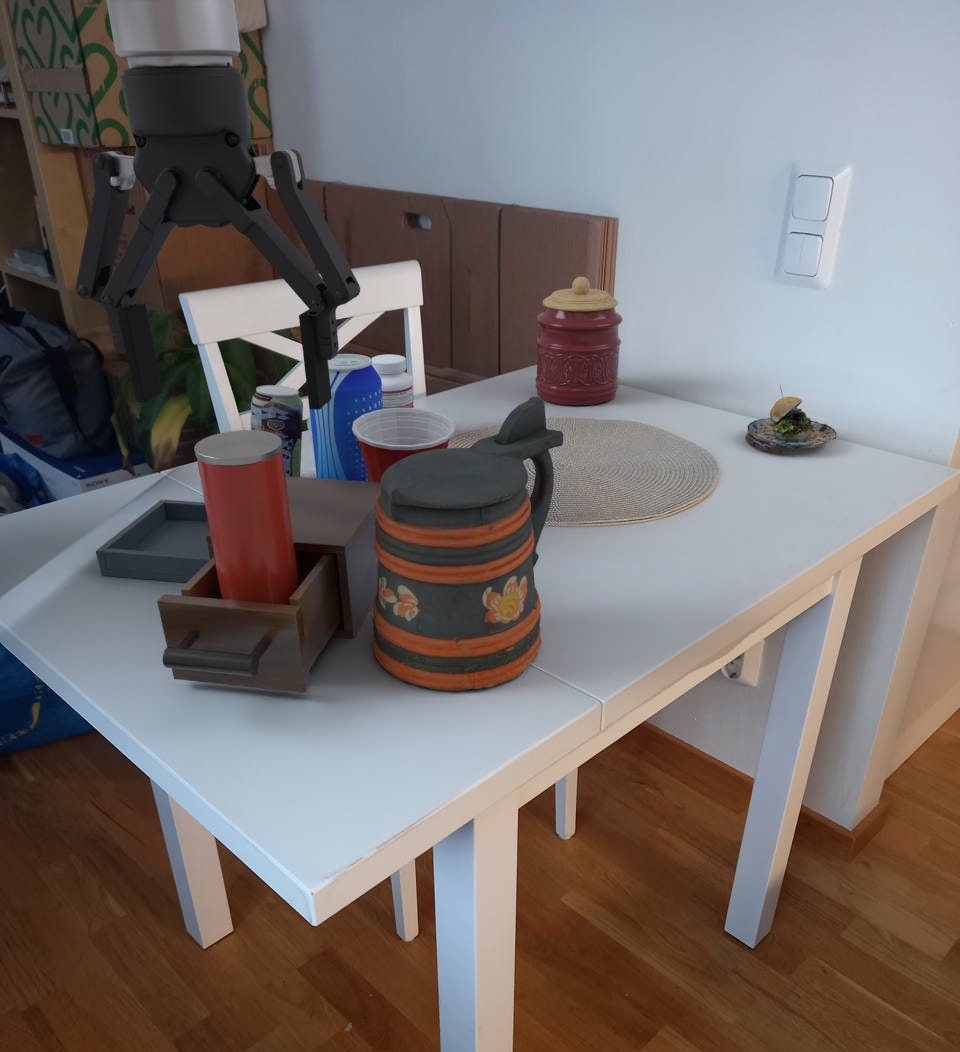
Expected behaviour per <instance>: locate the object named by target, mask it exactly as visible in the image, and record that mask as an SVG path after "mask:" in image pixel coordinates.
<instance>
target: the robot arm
mask: <svg viewBox="0 0 960 1052" xmlns="http://www.w3.org/2000/svg"><path fill="white" fill-rule="evenodd" d="M105 1H106V7H107V11H108V18H109V23H110V29H111V34H112V39H113V40H112V41H113V47H114V52H115V54H116V55H117V56H118V57H120V58H121V59H126V60H127V64H128V69H122V74H123V75H120V76H119V77H120V82H121V88H122V93H123V98H124V103H125V109H126V114H127V120H128V125H129V129H130V131H131V134H132V136H133V138H134V142H135V153H134V156H132V155H126V154H125V153H123V151H121V150H112V151H102V152H95V153H94V154H93V155H92V156H91V168H92V169H91V171H92V177H93V186H94V192H93V197H92V202H91V206H90V212H89V217H88V222H87V228H86V232H85V236H84V243H83V246H82V247H83V248H82V252H81V258H80V262H79V267H78V273H77V278H76V283H75V292H76V294H77V296H78V297H79V298H80V299H83V300H92V301H94V302H97V303H99V304H101V305H102V306H103V307H104V308H105V310H106V312H107V317H108V321H109V326H110V331H111V335H112V338H113V339H112V340H113V344H114V348H115V349H116V351H117V353H118V354H125V356H126V361H127V366H128V370H129V376H130V380H131V386H132V389H133V394H134V399H135V402H136V403H147V402H149V401H150V400H152V399H154V398H155V397H157V396H159V395H161V394H162V393H163V386H162V380H161V376H160V371H159V366H158V361H157V354H156V351H155V350H156V349H155V346H154V345H155V344H154V341H153V340H154V339H153V334H152V330H151V329H152V328H151V325H150V320H149V319H150V318H149V315H148V309H147V305H146V303H134V304H132V303H133V302H134V301H137V300H138V299H139V297H138V296H137V294H138V292H139V290H140V288H141V286H142V284H143V283H144V280H145V279H146V277H147V275H148V273H149V271H150V270H151V268H152V266H153V264H154V263H155V260H156V259H157V257H158V255H159V253H160V251H161V250H162V248H163V246H164V244H165V243H166V240H167V239H168V237H169V235H170V233H171V232H172V230H174V228H176V226H178V228H192V227H196V226H199V225H201V226H205V227H208V228H217V229H218V228H225V227H229V226H233V227H234V228H235V229H236V230H237V232H238V233H240V234H241V235H243V236H245V237H246V238H247V239H248V240H249V241H250V242H251V244H252V245H253V246H254V247H255V248H256V249H257V251H259V253H260V254H261V255H262V256H263V257H264V259H265V260H266V261H267V262H268V263H269V264H270V266H271V267H272V268H273V269H274V271H276V272H277V274H278V275H279V276H280V277H281V278H282V280H283V281H284V282H285V283H286V284H287V285H288V286H289V287H290V288H291V290H292V292H294V293H295V295H297V296H298V298H299V299H300V300H301V301H302V303H303V304H304V305H305V306H306V308H308V309H306V310H305V311H304V312H302V313H300V314H298V320H299V329H300V339H301V348H302V356H303V365H304V373H305V383H306V391H307V399H308V400H307V401H309V402H308V409H315V410H320V409H321V408H322V407H323V406H324V405H325V404H326V403H328V402H329V401H330V400H331V399H332V397H331V387H330V377H329V367H328V360H331V359H332V358H334V357H335V356H336V355H337V354H339V350H340V349H339V347H340V345H339V336H338V324H337V323H338V322H337V315H336V314H337V309H338V307H341V306H342V305H346V304H348V303H349V302H351V301H352V300H354V299H356V298H357V297H358V296H359V295H360V293H361V286H360V284H359V281H358V280H357V278H356V276H355V273H354V272H353V271H352V268H351V267H350V265H349V262H348V261H347V259H346V257H345V255H344V253H343V252H342V250H341V247H340V246H339V244H338V242H337V239H335V236H334V234H333V233H332V230H331V229H330V227H329V225H328V223H327V221H326V219H325V217H324V216H323V214H322V212H321V210H320V208H319V206H318V204H317V203H316V201H315V199H314V197H313V194H312V192H311V191H310V189H309V187H308V184H307V180H306V174H305V170H304V165H303V160H302V156H301V154H300V152H299V151H298V150H296V149H295V148H287V149H281V150H276V151H273V152H272V154H266V155H259V156H258V154H257V152H256V151H255V148H254V146H253V143H252V135H251V119H250V113H249V112H250V111H249V104H248V96H247V89H246V81H245V74H244V73H241V69H240V68H239V67H234V64H233V58H235V57H238V56H239V55H240V53H241V44H240V43H241V42H240V35H239V28H238V20H237V13H236V6H235V0H105ZM261 177H263V178H264V179H265V180H266V182H267V185H268V186H269V187H270V189H272V190H274V191H276V193H277V195H278V199H279V201H280V203H281V205H282V207H283V209H284V211H285V212H286V214H287V216H288V218H289V220H290V222H291V224H292V225H293V227H294V230H295V231H296V233H297V235H298V237H299V238H300V240H301V242H302V244H303V246H304V247H305V249H306V251H307V253H308V255H309V256H310V259H311V260H312V262H313V264H314V266H315V268H316V269H317V270H316V269H315V268H314V267H313V266H312V265H311V263H310V262H309V261H308V260H307V259H306V258H305V256H304V255H303V254H302V252H301V251H300V250H298V248H297V247H296V246H295V244H294V243H293V242H292V241H291V240H290V238H289V237H288V236H287V235H286V234H285V233H284V231H283V230H282V229H281V228H280V227H279V226H278V225H277V224H276V222H275V221H274V220H273V218H272V214H271V213H270V211H269V210H268V209H267V207H266V206H265V205H264V204H263V203H262V202H261V200H260V199H259V198H258V197H257V195H255V193H254V191H255V189H256V187H257V185H258V183H259V181H260V179H261ZM136 179H137V180H138V181H139V183H140V185H142V187H143V188H144V189H145V191H146V192H147V193H148V195H149V197H148V198H147V201H146V202H145V205H144V206H143V208H142V210H141V213H140V214H139V216H138V217H137V218H138V224H137V226H136V228H135V230H134V232H133V234H132V235H131V238H130V239H129V242H128V243H127V245H126V247H125V249H124V251H123V252H122V255H121V257H120V258H119V261H118V262H117V265H116V266H115V263H116V260H117V256H118V250H119V245H120V241H121V237H122V232H123V227H124V223H125V219H126V214H127V210H128V209H127V208H128V205H129V200H130V189H132V188H134V186H135V182H136Z"/></svg>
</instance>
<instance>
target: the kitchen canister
mask: <svg viewBox="0 0 960 1052" xmlns="http://www.w3.org/2000/svg"><path fill="white" fill-rule="evenodd" d="M542 305H543V306H544V310H543V311H542V312H540V313H539V314H538V315H537V316H536V321H537V323H538V324H539V335H538V336H537V338H536V345H537V349H536V351H537V352H536V354H537V355H536V377H535V388H536V395H537V397H539V398H542V399H543V400H544V401H545V402H548V403H552V404H557V405H564V406H593V405H600V404H603V403H607V402H609V401H612V400H613V399H615V397H616V396H617V391H618V389H619V382H620V381H619V363H620V362H619V361H620V346H621V343H622V340H621V338H620V337H619V326H620V325H621V324H622V322H623V321H624V320H623V319H624V318H623V316H622V315H621V314H620V313H619V312H617V310H616V307H617V306H618V305H619V301H618V299H617V298H615V297H613V296H612V295H611V294H610V293H609V292H608V291H606V290H602V289H597V288H591V284H590V281H589V279H588V278H587V277H586V276H578V277H576V278H574V280H573V282H572V285H571V288H563V289H557V290H555V291H553V292H552V293H551V294H550V295H549V296H547V297H545V298H544V299H543V300H542Z"/></svg>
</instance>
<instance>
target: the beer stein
mask: <svg viewBox="0 0 960 1052" xmlns="http://www.w3.org/2000/svg"><path fill="white" fill-rule="evenodd" d="M545 406H546V405H545V400H543V399H542V398H540V397H539V396H531V397H529V398H528V399H527V401H524V402H522V403H520V404H518V405H517V406H516V407H515V408H514V409H512V410H511V411H510V413H509V414H508V415H507V417H506V418H505V420H504V421H503V423H502V425H501V427H500V430H499V431H498V433H496V434H493V435H490V436H487V437H483V438H480V439H478V440H477V441H475V442H474V443H473V444H471V446H469V447H447V448H445V449H435V450H429V451H424V452H420V453H417V454H414V455H411V456H408V457H406V458H404V459H402V460H400V461H398V462H396V463H395V464H393V465H391V466H390V467H389V468H388V469H387V470H386V471H385V472H384V473H383V475H382V477H381V481H380V482H381V493H380V495H379V496H378V498H377V500H376V521H375V525H376V528H375V537H374V540H375V544H374V550H375V553H376V555H377V558H378V576H377V594H376V595H375V598H374V602H373V607H372V624H373V625H372V627H373V628H372V629H373V632H372V633H373V635H372V650H373V653H374V656H375V658H376V660H377V661H378V662H379V664H380V665H381V666H382V667H383V668H384V670H385V671H386V672H387V673H389V674H391V675H392V676H393V677H394V678H396V679H398V680H399V681H401V682H404V683H406V684H410V685H413V686H418V687H422V688H426V689H429V690H436V691H437V690H438V691H445V692H460V691H461V692H462V691H468V690H477V689H478V690H479V689H488V688H492V687H495V686H500V685H504V684H505V683H507V682H510V681H513V680H515V679H516V678H518V677H520V676H521V674H523V672H524V671H525V670H526V669H527V668H529V666H530V664H532V663H533V662H534V660H535V659H536V658H537V656H538V654H539V652H540V649H541V647H542V643H543V641H542V634H541V624H540V623H541V609H542V603H541V599H540V595H539V592H538V590H537V588H536V585H535V582H536V581H535V572H534V568H535V566H536V565H537V562H538V561H539V558H540V557H539V554H538V553H537V547H538V543H539V541H540V539H541V535H542V532H543V531H544V527H545V524H546V521H547V518H548V514H549V512H550V508H551V504H552V499H553V493H554V482H555V474H554V464H553V460H552V456H551V453H550V450H551V449H554V448H558V447H559V448H560V447H562V446H563V444H564V432H562V431H561V430H555V429H548V428H547V418H546V417H547V416H546V407H545ZM528 459H529V460H530V461H532V463H533V466H534V470H535V474H534V475H535V476H534V484H533V488H532V490H531V494H530V492H529V490H528V488H527V487H526V486H527V484H528V483H529V482H528V481H529V474H528V470H527V468H526V466H525V464H524V461H526V460H528Z"/></svg>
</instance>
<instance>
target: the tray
mask: <svg viewBox="0 0 960 1052" xmlns="http://www.w3.org/2000/svg"><path fill="white" fill-rule="evenodd" d="M209 532H210V530H209V524H208V519H207V513H206V507H205V502H204V501H189V500H175V499H160V500H158V501H157V502H156V503H155V504H153V505H152V506H151V507H149V508H148V509H147V510H146V511H144V512H143V513H142V514H141V515H139V516H138V517H137V518H135V519H134V520H133V521H131V522H130V523H129V524H128V525H127V526H126V527H124V528H123V529H122V530H120V531H119V532H118V533H116V534H115V535H114V536H113V537H111V538H110V539H109V540H107V541H106V542H104V544H102V545H101V546H99V548H97V549H96V550H95V554H96V558H97V563H98V566H99V570H100V574H101V576H102V577H103V576H104V577H114V578H124V579H125V578H127V579H138V580H149V581H161V582H162V581H163V582H173V583H185V584H186V583H187V582H188V581H189V580H190V579H191V578H192V577H194V576H195V575H196V574H197V573H198V572H199V571H200V570H201V569H202V568H203V567H204V566H205V565H206V564H207V563H208V562H209V561H210V556H209V551H208V545H207V540H206V535H207V534H208V533H209Z"/></svg>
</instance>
